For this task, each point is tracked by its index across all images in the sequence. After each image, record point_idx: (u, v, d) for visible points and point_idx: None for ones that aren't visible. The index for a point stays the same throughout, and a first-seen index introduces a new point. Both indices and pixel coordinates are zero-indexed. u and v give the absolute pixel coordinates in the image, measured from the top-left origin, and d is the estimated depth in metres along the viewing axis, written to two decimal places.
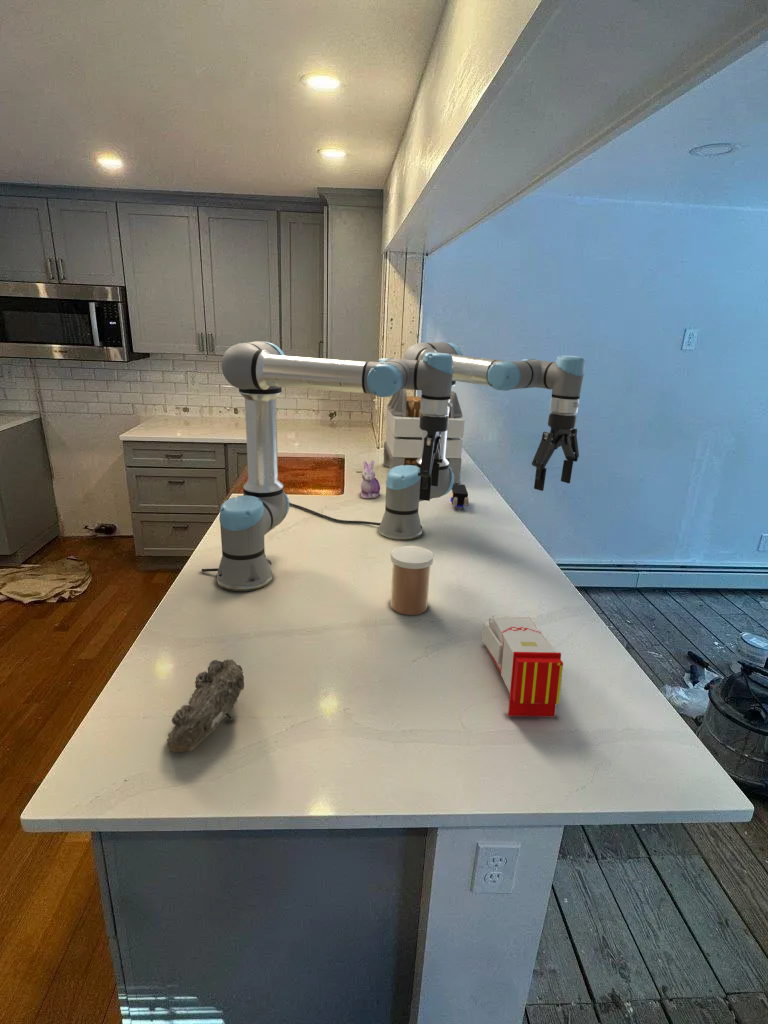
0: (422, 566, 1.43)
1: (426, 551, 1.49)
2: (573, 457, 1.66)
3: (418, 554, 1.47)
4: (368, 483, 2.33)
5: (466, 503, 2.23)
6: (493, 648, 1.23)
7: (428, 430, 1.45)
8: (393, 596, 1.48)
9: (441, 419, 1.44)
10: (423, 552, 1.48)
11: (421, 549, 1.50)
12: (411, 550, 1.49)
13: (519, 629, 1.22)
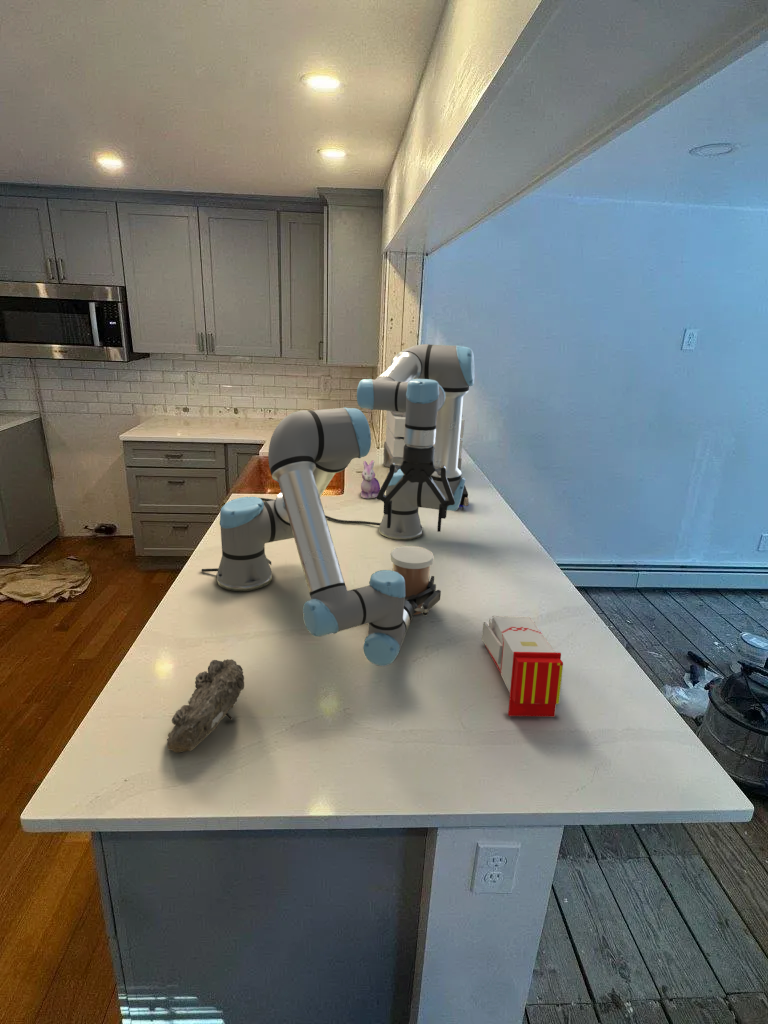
0: (422, 566, 1.43)
1: (426, 551, 1.49)
2: None
3: (418, 554, 1.47)
4: (368, 483, 2.33)
5: (466, 503, 2.23)
6: (493, 648, 1.23)
7: None
8: None
9: None
10: (423, 552, 1.48)
11: (421, 549, 1.50)
12: (411, 550, 1.49)
13: (519, 629, 1.22)
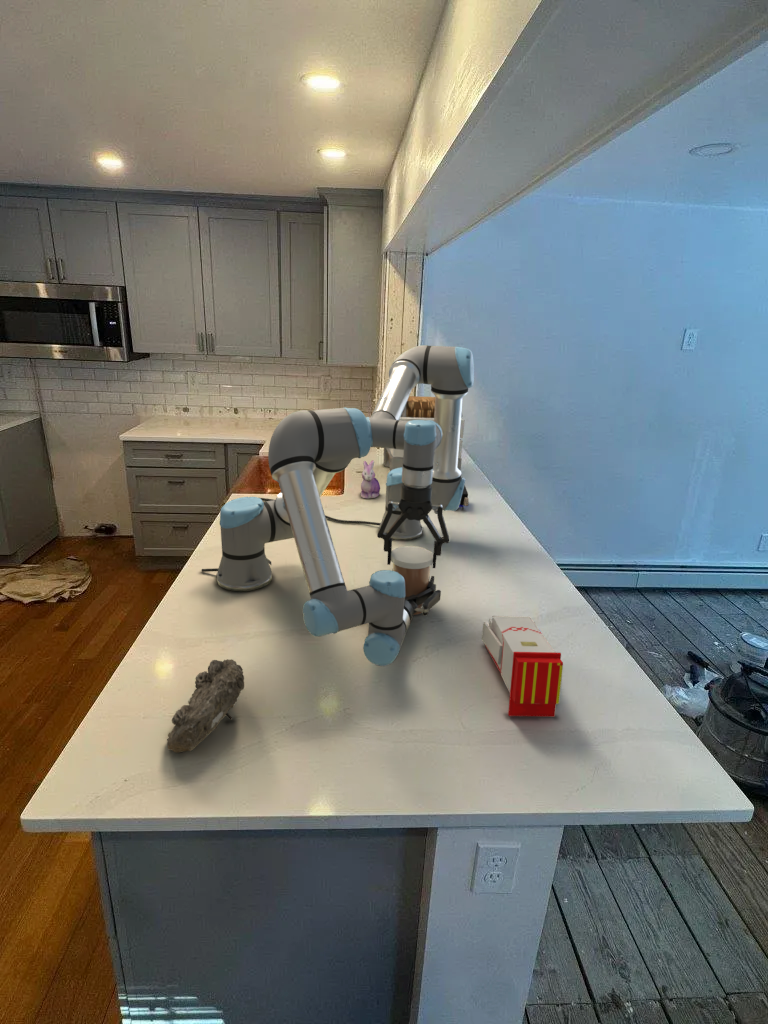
0: (422, 566, 1.43)
1: (425, 552, 1.49)
2: None
3: (418, 554, 1.47)
4: (368, 483, 2.33)
5: (466, 503, 2.23)
6: (493, 648, 1.23)
7: None
8: None
9: None
10: (423, 552, 1.48)
11: (421, 549, 1.50)
12: (411, 550, 1.49)
13: (519, 629, 1.22)
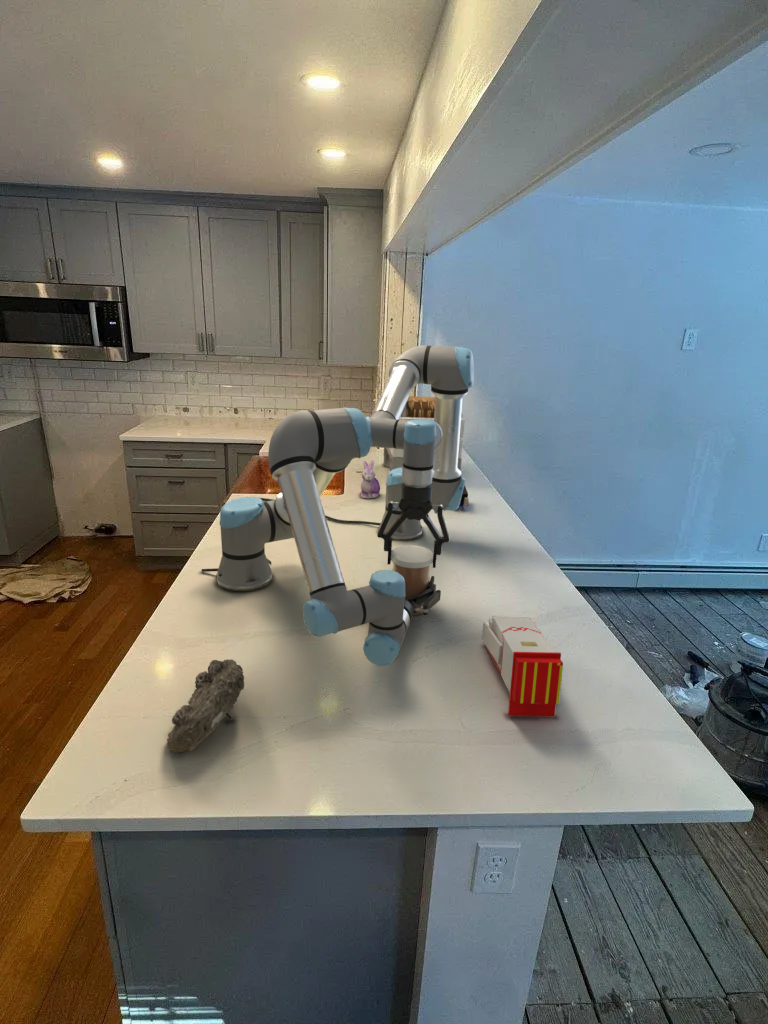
0: None
1: (398, 550, 1.49)
2: None
3: (408, 551, 1.48)
4: (368, 483, 2.33)
5: (466, 503, 2.23)
6: (493, 648, 1.23)
7: None
8: None
9: None
10: (400, 550, 1.48)
11: (395, 552, 1.47)
12: (405, 555, 1.45)
13: (519, 629, 1.22)
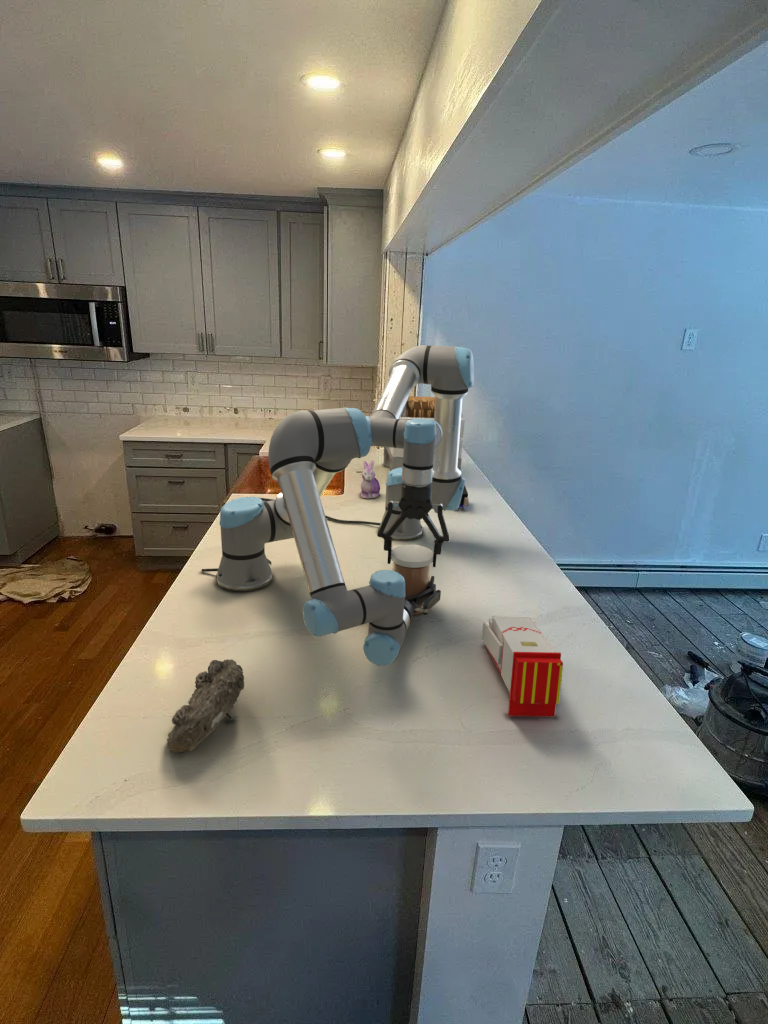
0: (391, 557, 1.46)
1: (415, 559, 1.43)
2: None
3: (410, 555, 1.45)
4: (368, 483, 2.33)
5: (466, 503, 2.23)
6: (493, 648, 1.23)
7: None
8: None
9: None
10: (414, 558, 1.44)
11: (422, 559, 1.43)
12: (421, 554, 1.46)
13: (519, 629, 1.22)
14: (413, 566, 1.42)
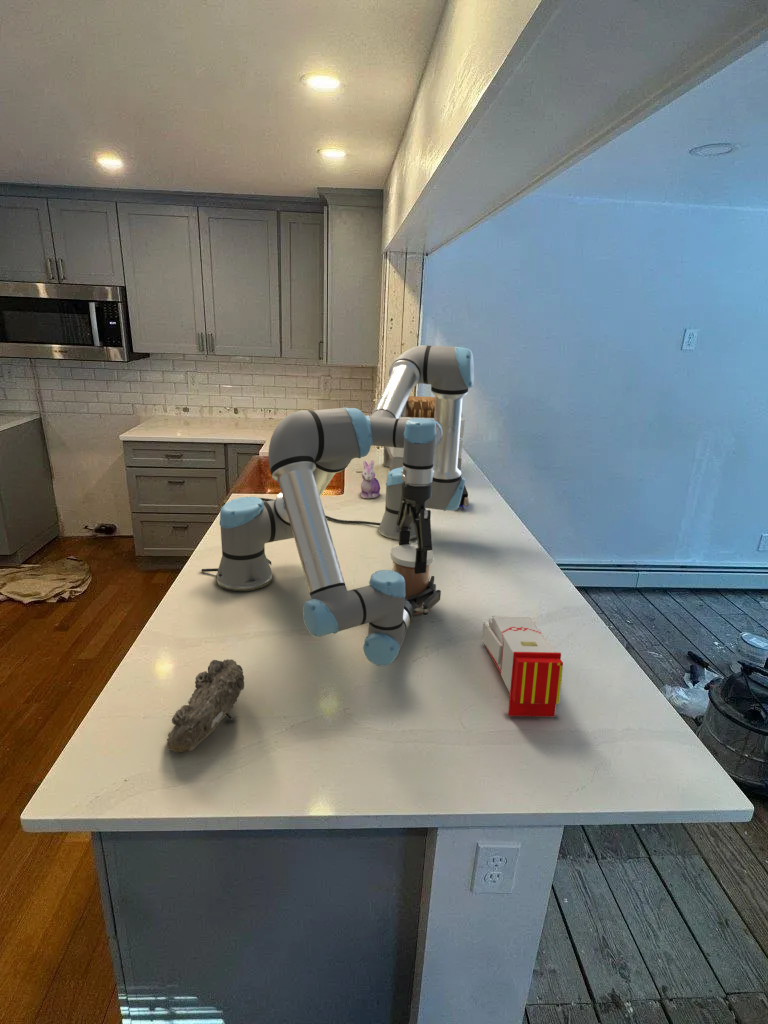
0: None
1: None
2: (418, 544, 1.39)
3: None
4: (368, 483, 2.33)
5: (466, 503, 2.23)
6: (493, 648, 1.23)
7: None
8: None
9: None
10: None
11: None
12: (410, 548, 1.49)
13: (519, 629, 1.22)
14: None
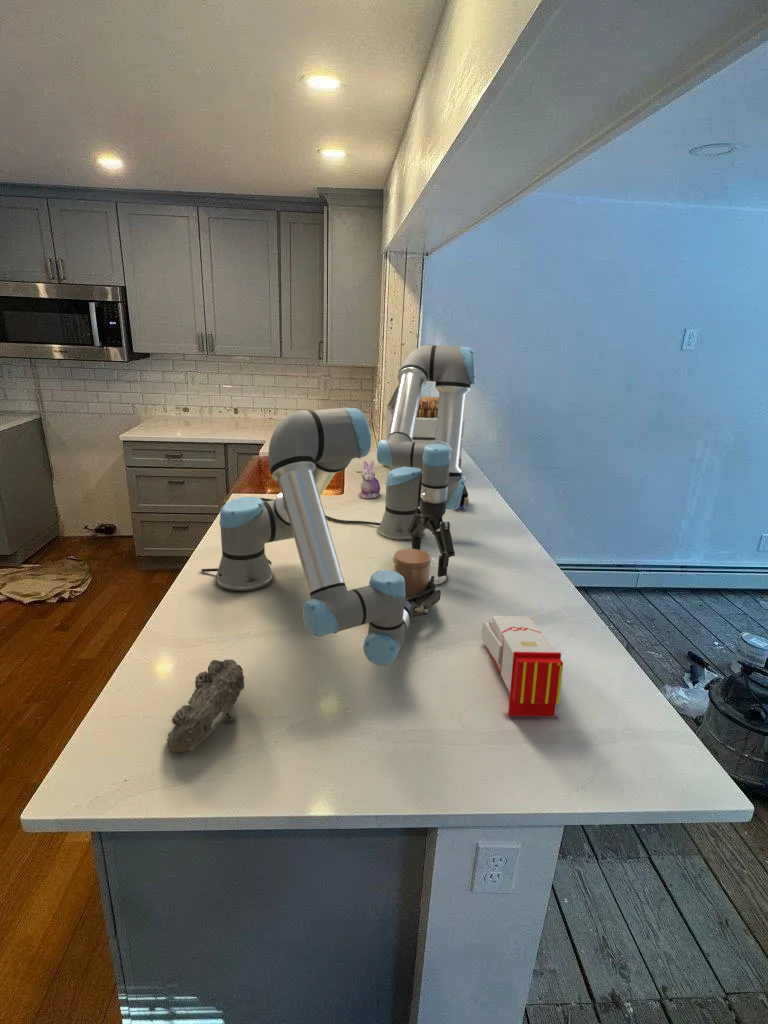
0: (441, 581, 1.65)
1: (437, 567, 1.71)
2: (441, 552, 1.60)
3: (433, 571, 1.69)
4: (368, 483, 2.33)
5: (466, 503, 2.23)
6: (493, 648, 1.23)
7: None
8: None
9: None
10: (435, 568, 1.71)
11: (431, 566, 1.72)
12: None
13: (519, 629, 1.22)
14: None
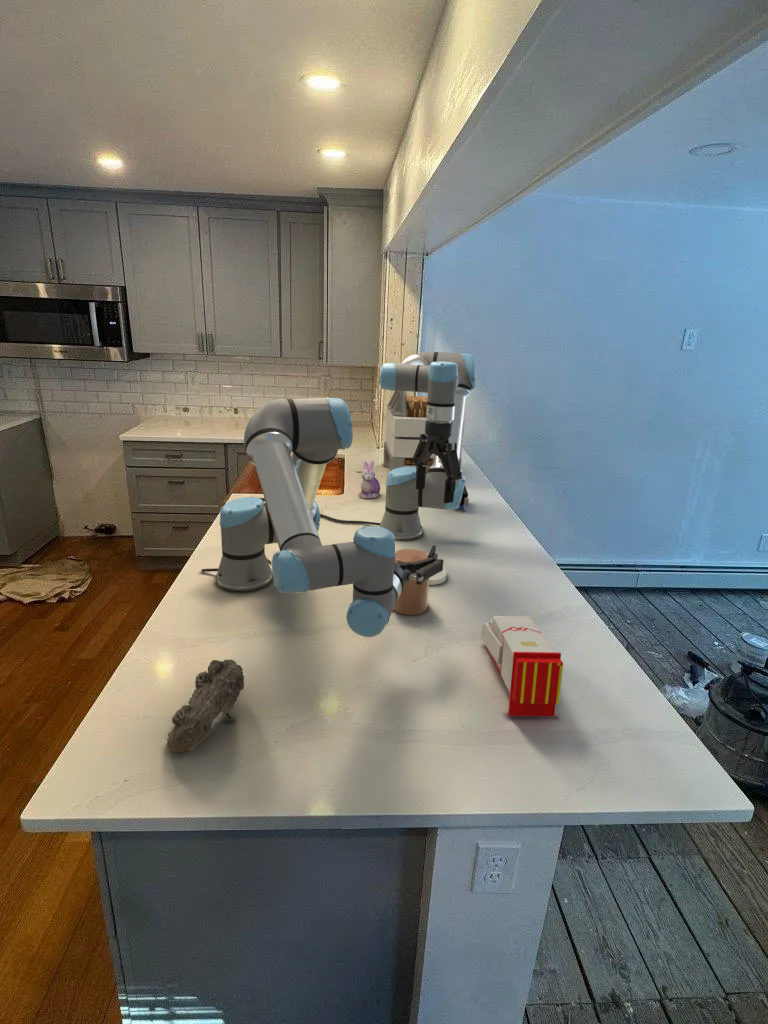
0: (441, 581, 1.65)
1: None
2: (447, 475, 1.52)
3: None
4: (368, 483, 2.33)
5: (466, 503, 2.23)
6: (493, 648, 1.23)
7: None
8: None
9: None
10: None
11: None
12: None
13: (519, 629, 1.22)
14: None
